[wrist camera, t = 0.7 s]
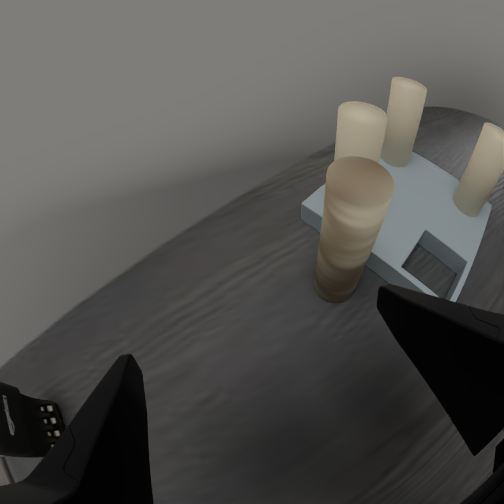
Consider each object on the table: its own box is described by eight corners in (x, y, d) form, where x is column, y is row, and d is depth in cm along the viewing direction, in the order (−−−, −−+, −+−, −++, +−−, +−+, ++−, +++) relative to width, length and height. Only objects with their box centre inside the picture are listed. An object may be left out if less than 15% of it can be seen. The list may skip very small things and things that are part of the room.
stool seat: (484, 217, 27) (525, 142, 16) (437, 322, 21) (519, 245, 11) (379, 149, 35) (393, 68, 24) (300, 219, 30) (300, 111, 19)
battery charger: (80, 456, 18) (-8, 450, 8) (58, 460, 17) (-25, 453, 7) (61, 395, 21) (-22, 367, 12) (41, 403, 21) (-38, 377, 11)
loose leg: (362, 279, 25) (403, 176, 14) (340, 311, 24) (377, 216, 13) (328, 257, 27) (346, 148, 16) (304, 287, 25) (313, 181, 15)
